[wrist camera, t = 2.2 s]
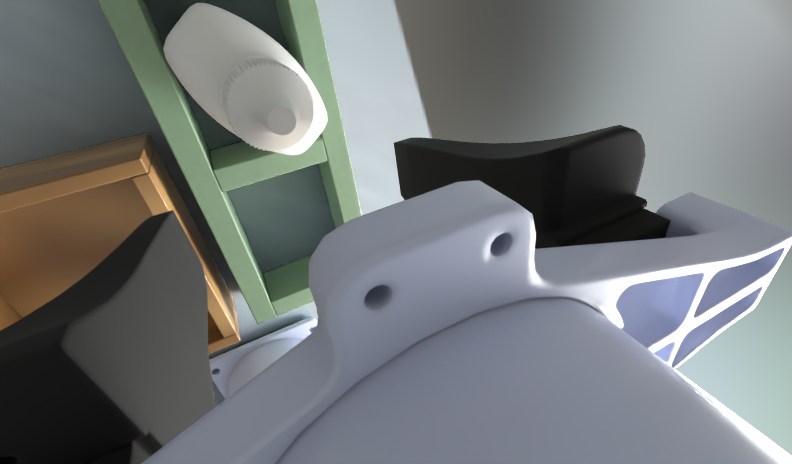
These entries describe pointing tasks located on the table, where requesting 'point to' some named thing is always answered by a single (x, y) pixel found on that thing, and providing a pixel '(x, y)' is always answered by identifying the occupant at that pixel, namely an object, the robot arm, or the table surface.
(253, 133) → the eye dropper bottle
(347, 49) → the table surface
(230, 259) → the green divided tray
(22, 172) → the open wooden box
